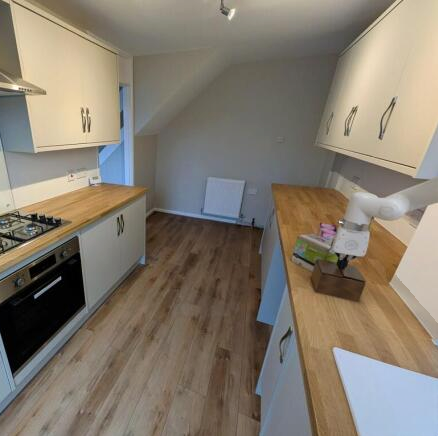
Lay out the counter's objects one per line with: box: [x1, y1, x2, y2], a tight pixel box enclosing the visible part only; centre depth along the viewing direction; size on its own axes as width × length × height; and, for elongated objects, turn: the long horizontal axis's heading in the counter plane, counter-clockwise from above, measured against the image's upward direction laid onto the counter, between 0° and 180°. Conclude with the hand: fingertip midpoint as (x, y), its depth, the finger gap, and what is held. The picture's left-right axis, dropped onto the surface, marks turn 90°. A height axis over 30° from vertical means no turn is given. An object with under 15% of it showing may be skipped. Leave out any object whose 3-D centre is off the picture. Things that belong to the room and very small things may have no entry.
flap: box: [336, 261, 367, 283], centre depth 94 cm, size 7×12×1 cm, turn 155°
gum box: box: [316, 222, 338, 241], centre depth 127 cm, size 24×8×14 cm, turn 147°
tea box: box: [291, 232, 338, 273], centre depth 113 cm, size 15×10×15 cm, turn 21°
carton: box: [310, 259, 367, 303], centre depth 97 cm, size 14×12×10 cm
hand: (340, 267), depth 95 cm, fingers closed
